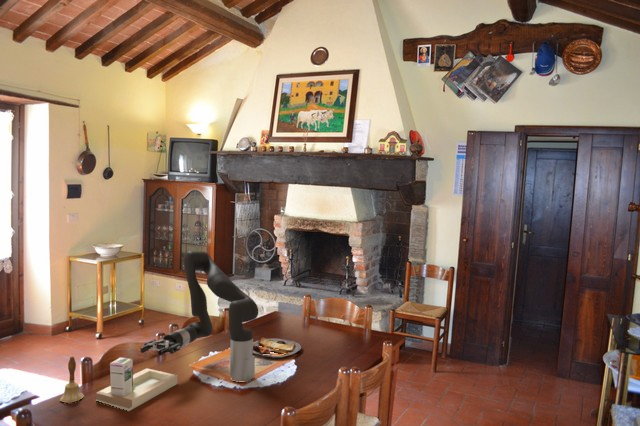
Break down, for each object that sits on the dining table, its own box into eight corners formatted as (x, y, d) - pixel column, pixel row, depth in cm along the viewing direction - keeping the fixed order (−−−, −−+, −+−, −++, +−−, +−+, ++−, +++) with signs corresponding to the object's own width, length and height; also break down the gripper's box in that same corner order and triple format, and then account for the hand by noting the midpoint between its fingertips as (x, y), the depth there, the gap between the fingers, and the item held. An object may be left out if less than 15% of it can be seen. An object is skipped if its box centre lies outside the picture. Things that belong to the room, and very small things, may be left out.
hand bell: (79, 391, 194) (78, 351, 193) (87, 399, 188) (86, 357, 187) (56, 398, 188) (55, 356, 187) (63, 406, 182) (63, 363, 181)
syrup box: (124, 402, 184) (124, 364, 182) (110, 400, 185) (109, 362, 184) (133, 395, 189) (133, 358, 188) (119, 394, 190) (119, 356, 189)
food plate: (239, 354, 237) (239, 346, 237) (262, 339, 258) (263, 333, 258) (287, 364, 228) (287, 356, 227) (307, 348, 249) (307, 341, 249)
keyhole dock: (146, 376, 209) (146, 368, 209) (177, 383, 203) (177, 375, 203) (96, 401, 186) (95, 392, 186) (128, 411, 179) (128, 401, 179)
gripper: (163, 329, 215) (135, 340, 201) (190, 333, 210) (163, 344, 195) (163, 346, 216) (135, 358, 201) (190, 351, 210) (164, 363, 195)
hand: (149, 351), depth 198 cm, fingers open, 8 cm apart
